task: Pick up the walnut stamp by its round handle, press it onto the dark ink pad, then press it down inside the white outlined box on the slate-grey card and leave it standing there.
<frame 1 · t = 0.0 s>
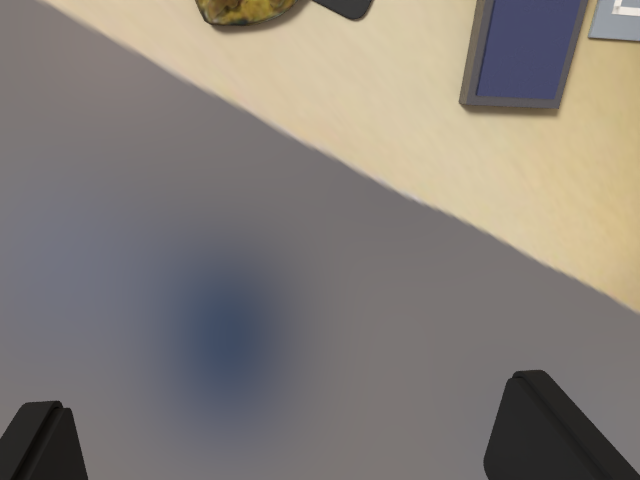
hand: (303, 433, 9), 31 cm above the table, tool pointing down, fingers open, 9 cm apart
ink pad: (520, 32, 37), on the table
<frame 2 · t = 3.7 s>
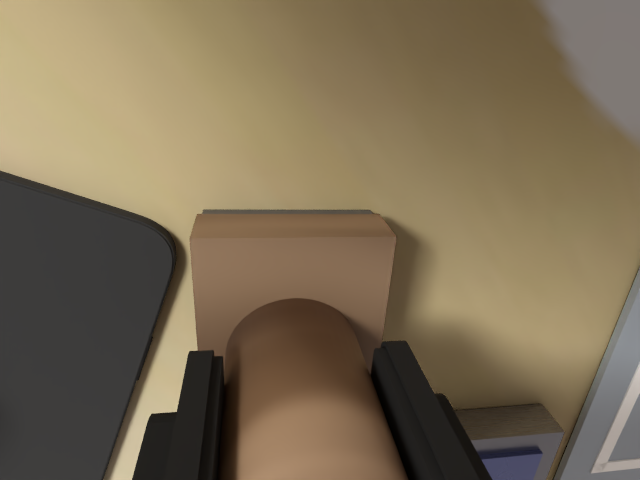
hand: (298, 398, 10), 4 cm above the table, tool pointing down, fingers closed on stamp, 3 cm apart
stamp: (286, 309, 14), on the table, touching gripper
phone: (12, 384, 14), on the table, touching brass ornament
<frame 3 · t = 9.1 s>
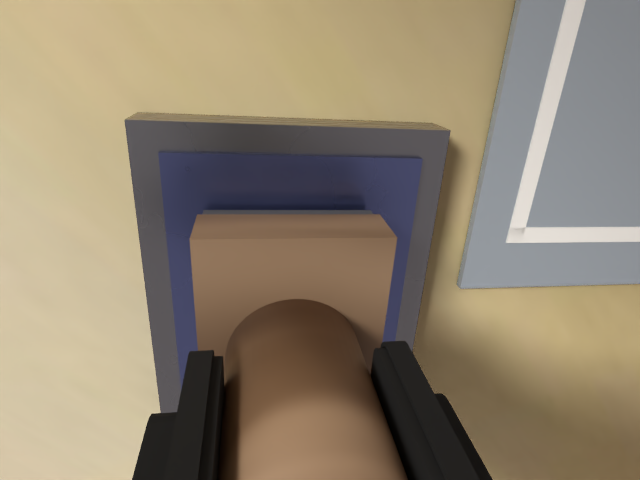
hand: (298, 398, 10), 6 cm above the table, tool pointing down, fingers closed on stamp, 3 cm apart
stamp: (286, 309, 14), point 2 cm above the table, touching gripper
ink pad: (287, 288, 15), on the table
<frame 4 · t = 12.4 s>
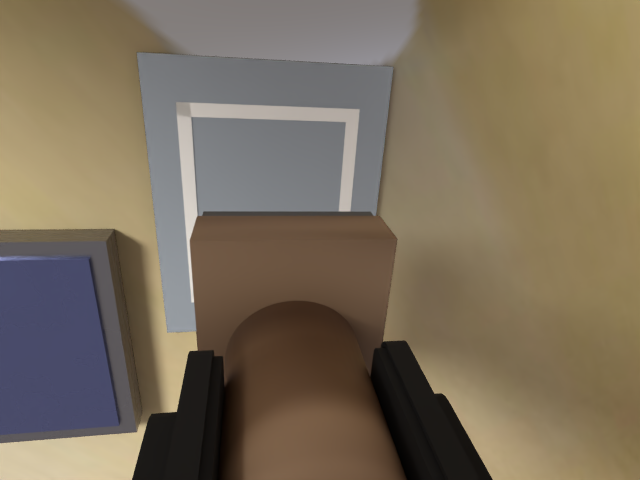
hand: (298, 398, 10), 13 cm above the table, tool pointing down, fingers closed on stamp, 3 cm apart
stamp: (286, 311, 14), point 9 cm above the table, touching gripper
stamp card: (269, 209, 22), on the table
ink pad: (39, 334, 23), on the table
when the fingers open (4 cm above the table, at t = 14.6 s): stamp stays where it is, resting on stamp card.
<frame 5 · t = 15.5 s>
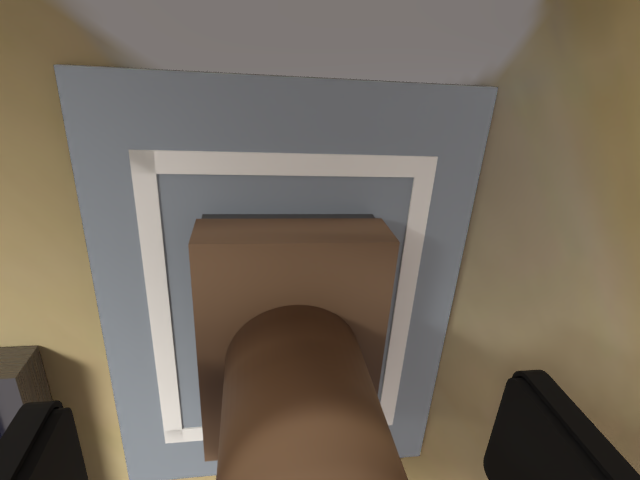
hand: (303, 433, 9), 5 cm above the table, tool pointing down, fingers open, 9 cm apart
stamp: (287, 315, 13), resting on stamp card
stamp card: (286, 309, 14), on the table
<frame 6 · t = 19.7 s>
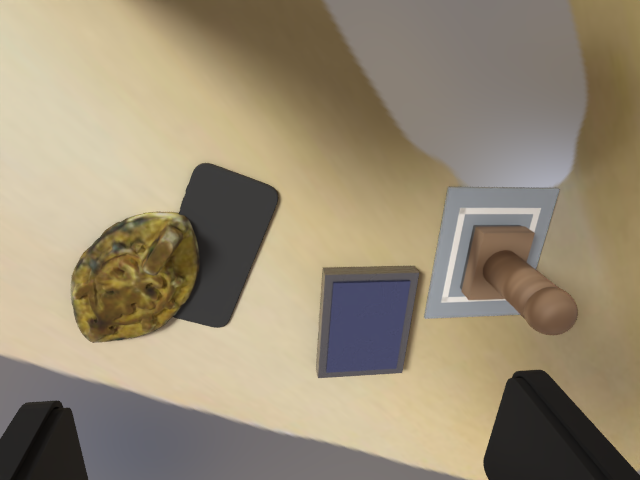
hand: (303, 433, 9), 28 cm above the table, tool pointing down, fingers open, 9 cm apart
stamp: (489, 257, 42), resting on stamp card
phone: (213, 248, 38), on the table
brass ornament: (138, 275, 38), on the table
stamp card: (487, 255, 42), on the table
ink pad: (363, 319, 43), on the table
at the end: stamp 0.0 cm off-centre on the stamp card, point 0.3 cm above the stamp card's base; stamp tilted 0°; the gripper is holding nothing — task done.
